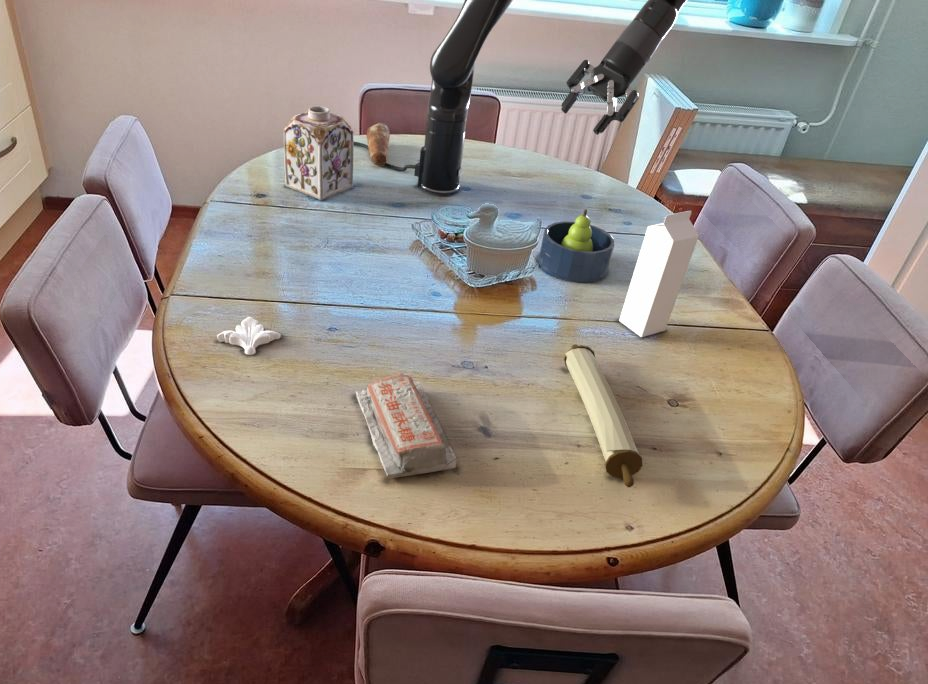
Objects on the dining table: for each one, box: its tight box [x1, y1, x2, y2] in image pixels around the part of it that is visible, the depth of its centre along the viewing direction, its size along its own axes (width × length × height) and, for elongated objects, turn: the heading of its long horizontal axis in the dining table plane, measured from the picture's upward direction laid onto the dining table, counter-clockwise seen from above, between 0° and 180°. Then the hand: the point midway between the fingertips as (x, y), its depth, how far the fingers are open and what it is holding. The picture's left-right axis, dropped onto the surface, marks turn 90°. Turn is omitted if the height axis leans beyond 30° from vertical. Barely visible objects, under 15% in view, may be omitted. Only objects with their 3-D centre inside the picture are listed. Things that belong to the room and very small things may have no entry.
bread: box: [366, 122, 391, 167], centre depth 183 cm, size 6×19×6 cm, turn 1°
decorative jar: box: [283, 105, 355, 201], centre depth 160 cm, size 12×12×18 cm
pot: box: [538, 220, 616, 283], centre depth 142 cm, size 14×14×6 cm
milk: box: [618, 210, 700, 338], centre depth 121 cm, size 6×6×22 cm
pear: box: [561, 208, 593, 252], centre depth 140 cm, size 6×6×12 cm
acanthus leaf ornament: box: [216, 316, 281, 356], centre depth 114 cm, size 8×7×2 cm
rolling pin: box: [563, 344, 644, 488], centre depth 104 cm, size 32×6×5 cm, turn 3°
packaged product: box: [355, 372, 458, 480], centre depth 98 cm, size 18×5×10 cm
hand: (579, 122), depth 144 cm, fingers open, 8 cm apart
